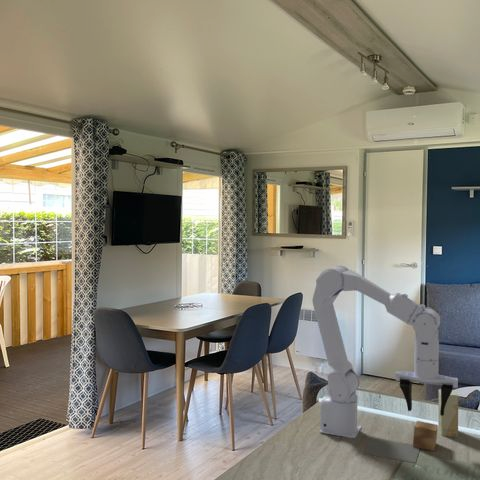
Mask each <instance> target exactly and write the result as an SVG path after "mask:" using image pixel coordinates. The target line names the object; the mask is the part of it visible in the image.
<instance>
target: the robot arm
mask: <svg viewBox="0 0 480 480" xmlns="http://www.w3.org/2000/svg"><path fill="white" fill-rule="evenodd" d="M342 291H343V292H351V291H352V292H355V291H356V292H359V293H361V294H363V295H365V296H367V297H369V298H370V299H373V300H374V301H376V302H378V303H380V304H382V305H383V306H384V307H385V310H386V313H388V314H390V315H391V316H393V317H394V318H397V319H399V320H400V321H402V322H404V323H405V324H407V325H409V326H412V328H413V330H414V334H415V335H414V336H415V337H414V347H413V348H414V349H413V350H414V351H413V353H414V355H413V356H414V360H413V361H414V362H413V363H414V364H413V366H414V367H413V368H414V369H413V370H414V371H399V370H398V371H397V370H396V372H395V381H398V382H399V388H400V389H401V392H402V394H403V396H404V400H405V403H406V408H407V411H409V412H412V410H413V409H412V408H413V399H412V398H413V397H412V389H413V388H412V387H413V383H420V384H428V385H436V386H441V388H440V389H441V410H440V415H441V416H444V409H445V405H446V403H447V400H448V398H449V396H450V394H451V392H452V390H454V389H457V388H458V386H459V385H458V384H459V383H458V382H459V379H458V377H452V376H447V375H443V374H439V369H440V368H439V367H440V366H439V362H440V361H439V360H440V359H439V357H440V355H439V354H440V352H439V351H440V350H439V349H440V342H439V341H440V340H439V338H440V337H439V330H438V328H439V327H440V325H441V316H440V314H439V313H438V312H437V311H435V309H433V307H426V305H425V304H423V303H422V304H420V303H418V302H416V301H415V300H412V299H411V298H409V294H407V293H405V292H403V293H402V294H401V292H396V293H395V292H394V293H390V292H389V291H387V290H385V289H384V288H382V287H381V286H379V285H377V283H375V282H372V281H371V280H369V279H368V278H366V277H365V276H363V275H361V274H360V273H358V272H356V271H355V270H352V269H349V268H348V267H346V266H343V265H336V266H334V267H331V268H327V269H324V270H323V271H322V272H320V274H319V276H318V277H317V278H316V279H315V289H314V292H313V295H312V300H311V302H312V306H313V310H314V313H315V318H316V322H317V324H318V325H317V326H318V328H319V333H320V336H321V340H322V344H323V349H324V352H325V356H326V360H327V363H328V366H327V367H328V368H327V374H326V376H327V381H328V382H327V388H326V389H327V390H326V391H327V394H328V395H324V396H323V397H322V399H321V403H320V429H319V433H321V434H327V435H332V436H338V437H344V438H350V439H356V437H357V436H358V434H359V433H360V430H361V429H362V426H361V425H358V396H357V393H356V391H357V390H358V388H359V387H360V383H361V382H360V377H359V375H358V374H357V373H356V372H355V370H354V367H353V364H352V363H351V362H350V361H349V360H348V357H347V352H346V349H345V344H344V341H343V336H342V332H341V329H340V326H339V321H338V318H337V314H336V310H335V307H334V302H335V300H336V299H337V298H338V296H339V295H340V293H341V292H342Z"/></svg>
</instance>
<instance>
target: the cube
mask: <svg viewBox="0 0 480 480" xmlns="http://www.w3.org/2000/svg"><path fill="white" fill-rule="evenodd" d="M413 428H414V430H413V442H412V444H413V447H417V448H420V449H423V450H427V451H431V452H435V450H436V445H437V439H438V437H437V436H438V435H437V434H438V424H434V423H430V422H426V421H425V422H424V421H420V420H416V422H415V425H414V427H413Z"/></svg>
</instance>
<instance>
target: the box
mask: <svg viewBox="0 0 480 480" xmlns="http://www.w3.org/2000/svg"><path fill="white" fill-rule="evenodd" d="M440 410H441V388H439V389H438V418H437V419H438V420H437V421H438V424H437V425H438V427H437V430H438V432H439V434H440V435H441V437H453V438H454V437H459V394H458V393H457V391H456V389H452V392H451V394H450V396H449V398H448V400H447V403H446V405H445V409H444V416H441V415H440Z"/></svg>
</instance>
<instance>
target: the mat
mask: <svg viewBox="0 0 480 480" xmlns="http://www.w3.org/2000/svg"><path fill="white" fill-rule="evenodd" d="M420 449H421V448H417V447H413V443H406V442H399V441H393V440H389V439H382V438H377V437H372V438H371V439H370V441H369V442H368V445H367V446H366V448H365V450H364V452H363V455H367V456H372V457H373V456H374V457H377V458H378V457H379V458H385V459H389V460H390V459H391V460H396V461H402V462H406V463H411V464H416V463H417V460H418V457H419V452H420Z"/></svg>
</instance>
